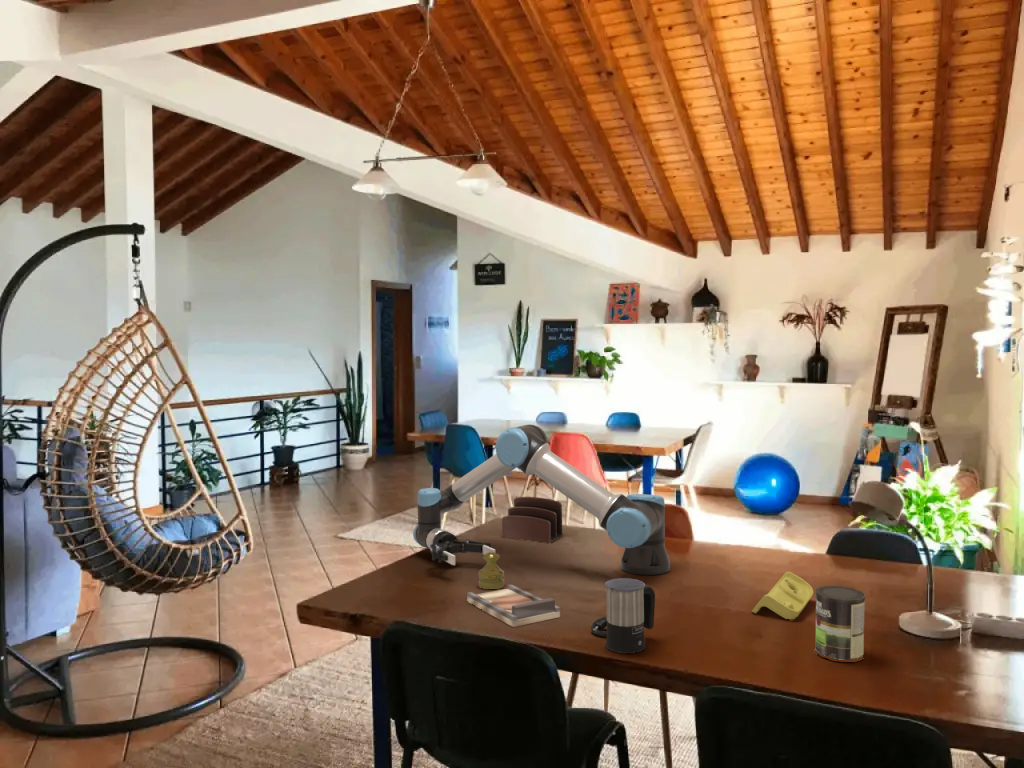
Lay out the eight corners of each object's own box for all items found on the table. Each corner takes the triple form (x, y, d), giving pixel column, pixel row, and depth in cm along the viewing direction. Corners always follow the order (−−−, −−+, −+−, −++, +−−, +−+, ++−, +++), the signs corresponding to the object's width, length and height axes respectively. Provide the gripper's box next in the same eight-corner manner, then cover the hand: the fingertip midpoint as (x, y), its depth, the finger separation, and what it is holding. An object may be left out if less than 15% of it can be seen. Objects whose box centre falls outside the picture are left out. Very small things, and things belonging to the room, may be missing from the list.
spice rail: (467, 601, 224) (466, 585, 224) (511, 593, 231) (511, 577, 231) (513, 627, 203) (513, 609, 203) (560, 617, 211) (559, 599, 210)
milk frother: (635, 657, 183) (635, 591, 183) (572, 644, 192) (572, 581, 191) (659, 638, 195) (659, 576, 195) (599, 626, 204) (599, 567, 203)
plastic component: (797, 614, 205) (761, 591, 209) (784, 637, 207) (749, 614, 212) (817, 588, 221) (783, 567, 226) (805, 610, 224) (772, 589, 228)
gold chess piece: (474, 588, 235) (474, 554, 235) (484, 581, 242) (484, 548, 242) (498, 591, 233) (497, 556, 232) (508, 584, 240) (507, 550, 239)
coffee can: (827, 664, 179) (828, 600, 178) (806, 647, 189) (807, 586, 188) (873, 662, 179) (874, 598, 179) (850, 645, 190) (851, 584, 189)
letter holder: (515, 532, 306) (514, 494, 305) (563, 538, 296) (562, 499, 296) (501, 537, 298) (501, 499, 297) (550, 544, 288) (550, 504, 287)
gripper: (476, 548, 270) (510, 563, 252) (406, 559, 257) (436, 576, 239) (476, 526, 270) (510, 539, 252) (406, 535, 257) (436, 550, 239)
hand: (474, 557), depth 246 cm, fingers open, 13 cm apart
